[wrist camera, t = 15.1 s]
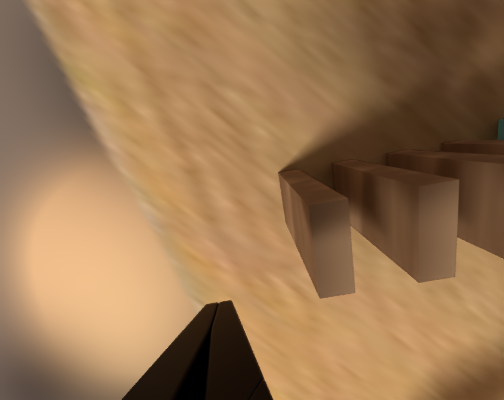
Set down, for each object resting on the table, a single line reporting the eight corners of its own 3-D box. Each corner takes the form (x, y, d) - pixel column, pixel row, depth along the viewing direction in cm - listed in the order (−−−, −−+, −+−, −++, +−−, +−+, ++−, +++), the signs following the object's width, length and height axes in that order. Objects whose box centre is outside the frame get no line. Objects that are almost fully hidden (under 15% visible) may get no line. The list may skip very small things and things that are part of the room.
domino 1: (297, 169, 19) (348, 198, 9) (304, 219, 20) (355, 292, 11) (278, 172, 19) (308, 205, 10) (285, 222, 20) (319, 298, 11)
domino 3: (406, 149, 19) (573, 159, 9) (407, 202, 20) (557, 260, 10) (386, 153, 19) (531, 166, 9) (388, 205, 20) (520, 266, 10)
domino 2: (351, 159, 19) (459, 179, 9) (355, 210, 20) (455, 276, 10) (332, 162, 19) (418, 186, 9) (336, 214, 20) (418, 282, 10)
